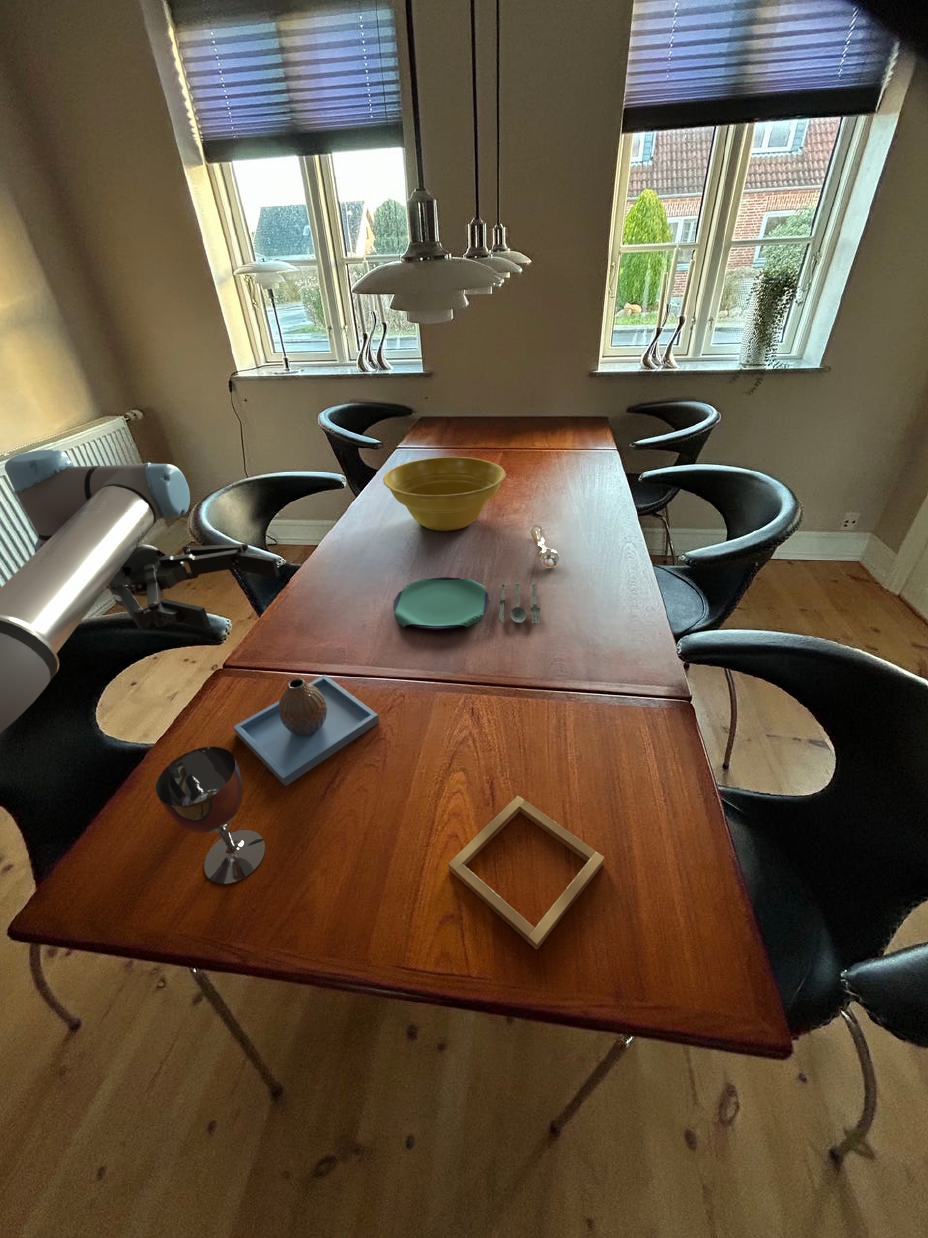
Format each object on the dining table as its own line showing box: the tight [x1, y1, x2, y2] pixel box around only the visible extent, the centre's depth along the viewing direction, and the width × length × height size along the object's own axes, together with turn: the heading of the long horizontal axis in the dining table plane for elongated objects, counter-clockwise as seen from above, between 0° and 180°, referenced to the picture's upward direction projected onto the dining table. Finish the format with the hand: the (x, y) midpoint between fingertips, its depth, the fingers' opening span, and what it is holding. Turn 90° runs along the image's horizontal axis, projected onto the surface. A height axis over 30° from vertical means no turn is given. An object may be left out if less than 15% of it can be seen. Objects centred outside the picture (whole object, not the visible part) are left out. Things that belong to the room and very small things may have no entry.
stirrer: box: [529, 524, 560, 568], centre depth 130 cm, size 20×4×5 cm
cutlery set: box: [393, 576, 541, 631], centre depth 109 cm, size 20×30×2 cm, turn 86°
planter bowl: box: [382, 456, 506, 532], centre depth 143 cm, size 32×32×13 cm
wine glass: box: [155, 746, 266, 885], centre depth 61 cm, size 8×8×15 cm
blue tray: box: [232, 674, 380, 787], centre depth 82 cm, size 17×15×2 cm
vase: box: [279, 677, 327, 735], centre depth 80 cm, size 7×7×9 cm
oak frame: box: [447, 795, 605, 950], centre depth 62 cm, size 13×13×1 cm
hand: (243, 591), depth 71 cm, fingers open, 13 cm apart
